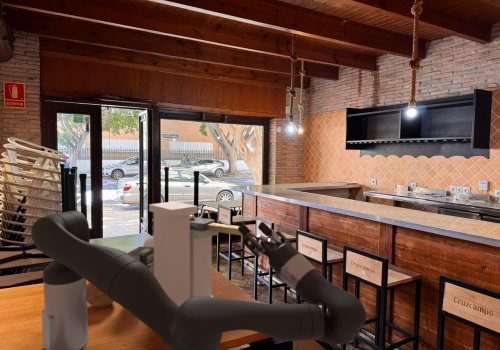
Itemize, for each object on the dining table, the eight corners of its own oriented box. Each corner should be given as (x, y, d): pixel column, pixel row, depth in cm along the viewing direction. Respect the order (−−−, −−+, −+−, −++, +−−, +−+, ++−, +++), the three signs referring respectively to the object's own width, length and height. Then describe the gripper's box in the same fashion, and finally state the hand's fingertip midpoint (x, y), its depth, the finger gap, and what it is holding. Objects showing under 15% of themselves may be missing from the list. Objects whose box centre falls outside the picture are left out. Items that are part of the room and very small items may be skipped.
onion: (125, 305, 106) (125, 274, 105) (93, 316, 99) (92, 283, 98) (111, 295, 113) (110, 266, 112) (79, 306, 105) (78, 274, 104)
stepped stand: (172, 320, 97) (171, 209, 94) (150, 306, 105) (149, 204, 103) (217, 302, 109) (218, 203, 107) (194, 290, 117) (194, 198, 115)
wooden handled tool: (240, 236, 97) (240, 224, 97) (176, 227, 107) (176, 216, 107) (250, 232, 103) (250, 220, 103) (189, 223, 113) (189, 213, 113)
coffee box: (144, 306, 106) (143, 255, 104) (125, 304, 107) (124, 253, 106) (157, 293, 115) (157, 246, 113) (140, 292, 116) (139, 245, 115)
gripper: (314, 251, 87) (272, 213, 96) (283, 258, 76) (239, 214, 85) (299, 273, 90) (260, 234, 99) (267, 283, 79) (226, 238, 88)
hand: (250, 225), depth 92 cm, fingers open, 8 cm apart
